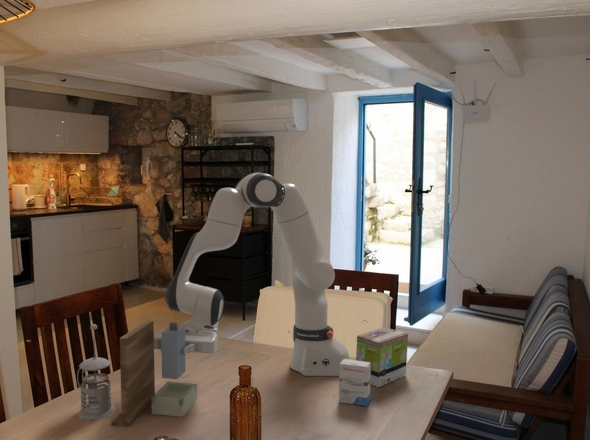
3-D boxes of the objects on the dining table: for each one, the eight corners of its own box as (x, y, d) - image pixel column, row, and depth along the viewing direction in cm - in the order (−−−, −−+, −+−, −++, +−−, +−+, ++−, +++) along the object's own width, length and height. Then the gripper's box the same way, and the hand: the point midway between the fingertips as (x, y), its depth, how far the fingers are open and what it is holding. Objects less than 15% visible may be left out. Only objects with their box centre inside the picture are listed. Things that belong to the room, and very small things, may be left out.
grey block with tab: (185, 371, 160) (185, 320, 159) (177, 379, 155) (176, 326, 153) (170, 370, 161) (170, 319, 160) (162, 377, 155) (161, 325, 154)
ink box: (370, 400, 165) (371, 361, 163) (367, 407, 160) (368, 367, 159) (342, 395, 167) (343, 357, 166) (338, 402, 163) (339, 363, 162)
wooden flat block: (154, 401, 162) (153, 321, 160) (129, 427, 147) (126, 338, 144) (138, 400, 163) (137, 320, 160) (111, 425, 147) (108, 337, 145)
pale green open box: (196, 399, 164) (196, 384, 163) (182, 416, 153) (182, 400, 152) (167, 397, 165) (167, 381, 165) (151, 413, 154) (151, 397, 154)
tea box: (379, 389, 173) (380, 342, 171) (354, 379, 180) (355, 335, 178) (407, 376, 183) (408, 332, 182) (382, 367, 190) (383, 325, 189)
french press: (93, 423, 149) (90, 332, 146) (65, 412, 155) (62, 324, 152) (122, 409, 157) (120, 322, 154) (95, 399, 163) (92, 316, 160)
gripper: (159, 323, 172) (138, 337, 158) (222, 328, 168) (207, 342, 155) (159, 343, 173) (138, 358, 159) (222, 348, 169) (207, 364, 155)
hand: (173, 351), depth 157 cm, fingers closed on grey block with tab, 4 cm apart
